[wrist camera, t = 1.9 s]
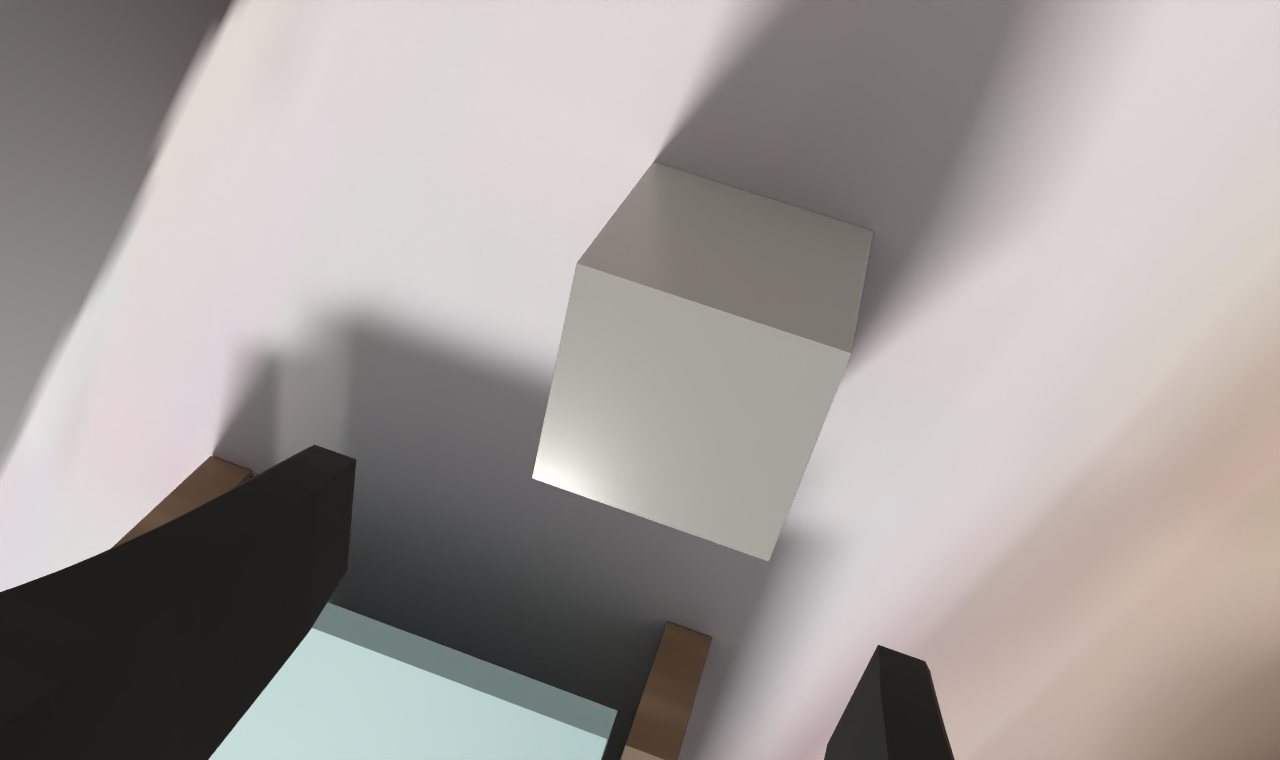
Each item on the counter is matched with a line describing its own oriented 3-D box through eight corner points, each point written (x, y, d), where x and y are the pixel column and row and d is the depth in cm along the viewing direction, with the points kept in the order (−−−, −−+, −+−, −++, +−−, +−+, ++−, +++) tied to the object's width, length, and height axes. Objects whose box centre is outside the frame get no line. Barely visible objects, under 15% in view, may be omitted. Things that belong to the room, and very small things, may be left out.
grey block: (874, 230, 20) (852, 353, 16) (803, 413, 22) (767, 561, 18) (654, 160, 20) (576, 263, 16) (609, 348, 23) (532, 477, 19)
